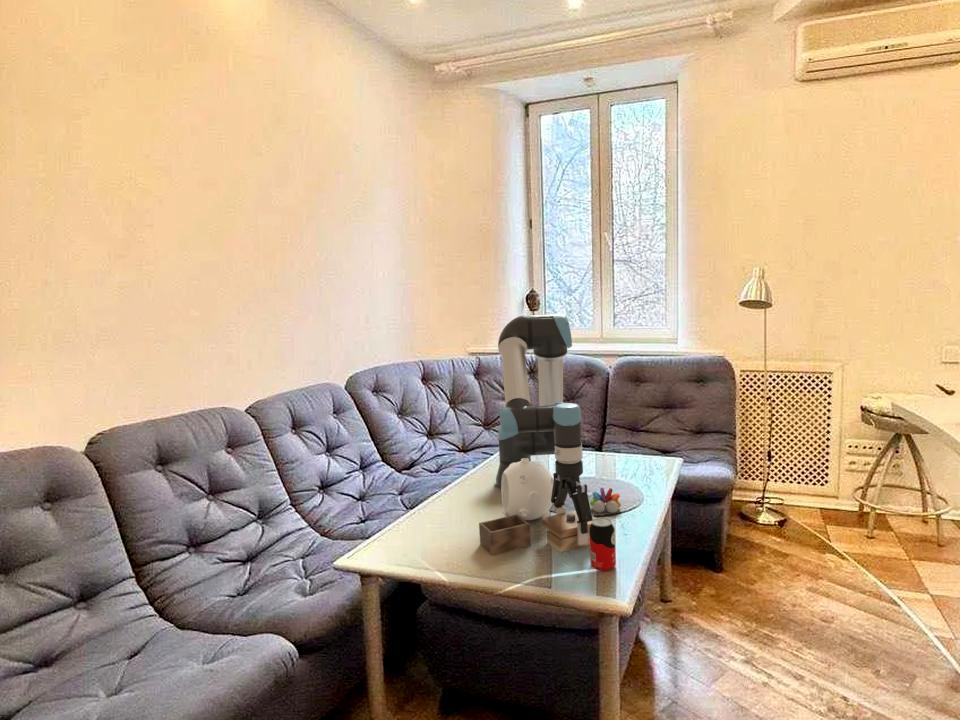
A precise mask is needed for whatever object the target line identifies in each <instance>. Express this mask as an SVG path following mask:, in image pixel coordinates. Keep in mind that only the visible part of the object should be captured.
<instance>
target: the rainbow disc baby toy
mask: <svg viewBox="0 0 960 720" xmlns="http://www.w3.org/2000/svg"><path fill="white" fill-rule="evenodd" d="M599 490H600V494H599V492H597V491H593V492H592V499H591V500H589V504H590V505H591V507H592V509H593V510H594V512H595V513H597V512H598V514H599V513H601V514H602V513H604V512H605V510H606V511H607V512H608V513H611V514H615V513H616V512H618V510H619V508H620V507H621V505H622V504H621V502H620V501H619V498H620V497H621V495H620V494H619V493H614V494H612V493H613V491H614V490H613V488H611V487H610V488H608V490H607V492H606V493H605V488H604V487H600V489H599Z"/></svg>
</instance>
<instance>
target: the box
mask: <svg viewBox="0 0 960 720" xmlns="http://www.w3.org/2000/svg"><path fill="white" fill-rule="evenodd" d="M478 527H479V529H478V530H479V542H480V543H479V544H480V546H481V547H482V548H484V550H486V552H488V553H489V555H490V556H497V555H500V554H504V553H508V552H511V551H512V552H513V551H515V550H520V549H525V548H529V547H531V545H532V543H531V542H532V541H531V525H530V523H529V521H527V520H524V519H522V518H521V517H520V516H518V515H512V516H511V515H509V516H508V517H507V516H504V517H500V518H495V519H490V520H487V521H480V522H479V523H478Z"/></svg>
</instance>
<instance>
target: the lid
mask: <svg viewBox="0 0 960 720" xmlns="http://www.w3.org/2000/svg"><path fill="white" fill-rule="evenodd" d="M596 518H597V517H595V516H593V515H592V519H596ZM577 521H579V519H578V516H577V513H576V510H575V509H574V510H571V511H566V513H562V514H557V515H556V514H554V515H550V516H549V515H548V516H547V517H541V526H542V527H545V528H546V529H547V531H549V530H550V531H551V532H553V533H554V534H556V535H557V536H558V537H560V538H564V537H568V536H572V535H576V534H578V533H577ZM591 524H592V521H589V522H587V525H588V529H587V530H588V531H589V528H590V526H591Z"/></svg>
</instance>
